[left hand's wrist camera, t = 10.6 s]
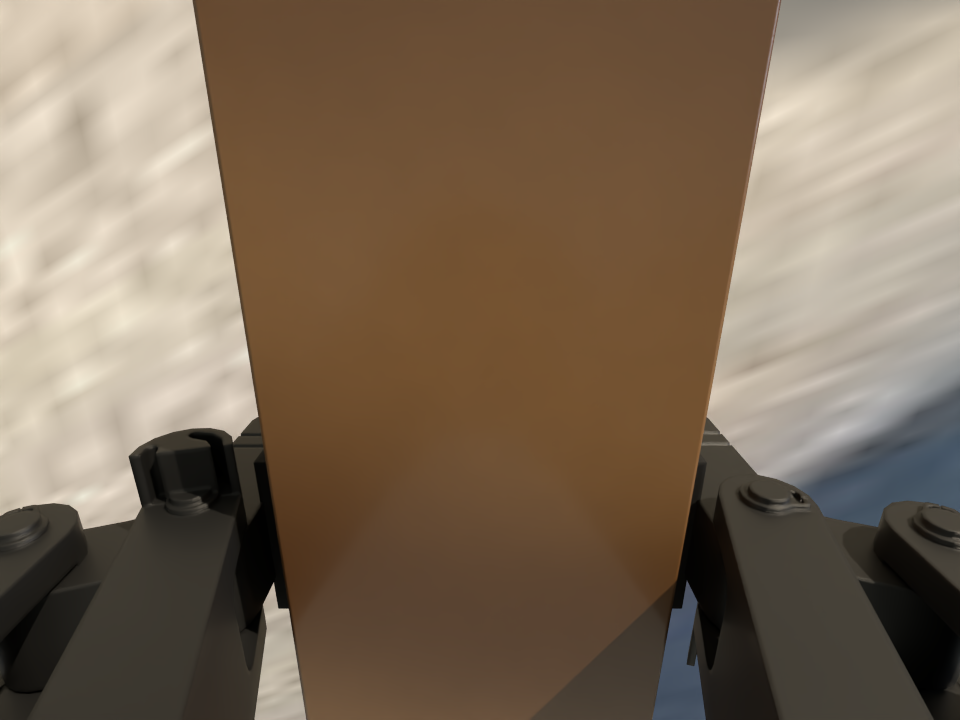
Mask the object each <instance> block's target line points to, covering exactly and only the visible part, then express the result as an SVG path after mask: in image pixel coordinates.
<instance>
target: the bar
mask: <svg viewBox="0 0 960 720" xmlns="http://www.w3.org/2000/svg"><path fill="white" fill-rule="evenodd" d="M780 4H781V0H193V6H194V12H195V19H196V25H197V31H198V37H199V44H200V50H201V56H202V63H203V69H204V75H205V82H206V88H207V94H208V101H209V107H210V113H211V120H212V126H213V132H214V138H215V145H216V151H217V157H218V164H219V170H220V176H221V183H222V189H223V195H224V202H225V208H226V214H227V221H228V227H229V233H230V240H231V246H232V252H233V258H234V265H235V271H236V277H237V284H238V290H239V296H240V303H241V309H242V315H243V322H244V328H245V334H246V341H247V347H248V353H249V359H250V366H251V372H252V378H253V385H254V391H255V397H256V404H257V410H258V416H259V423H260V429H261V435H262V442H263V448H264V454H265V460H266V467H267V473H268V479H269V486H270V492H271V498H272V505H273V511H274V517H275V524H276V530H277V536H278V543H279V549H280V555H281V562H282V568H283V574H284V580H285V587H286V593H287V599H288V606H289V612H290V618H291V625H292V631H293V637H294V644H295V650H296V656H297V663H298V669H299V675H300V681H301V688H302V694H303V700H304V707H305V713H306V719H307V720H652V717H653V711H654V706H655V700H656V695H657V689H658V683H659V678H660V672H661V667H662V661H663V656H664V650H665V644H666V639H667V633H668V628H669V622H670V617H671V611H672V605H673V600H674V594H675V589H676V583H677V578H678V572H679V566H680V561H681V555H682V550H683V544H684V539H685V533H686V527H687V522H688V516H689V511H690V505H691V500H692V494H693V488H694V483H695V477H696V472H697V466H698V461H699V455H700V450H701V444H702V438H703V433H704V427H705V422H706V416H707V411H708V405H709V399H710V394H711V388H712V383H713V377H714V372H715V366H716V360H717V355H718V349H719V344H720V338H721V333H722V327H723V321H724V316H725V310H726V305H727V299H728V294H729V288H730V282H731V277H732V271H733V266H734V260H735V255H736V249H737V243H738V238H739V232H740V227H741V221H742V216H743V210H744V205H745V199H746V193H747V188H748V182H749V177H750V171H751V166H752V160H753V154H754V149H755V143H756V138H757V132H758V127H759V121H760V115H761V110H762V104H763V99H764V93H765V88H766V82H767V76H768V71H769V65H770V60H771V54H772V49H773V43H774V37H775V32H776V26H777V21H778V15H779V10H780Z"/></svg>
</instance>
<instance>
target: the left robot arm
mask: <svg viewBox="0 0 960 720" xmlns="http://www.w3.org/2000/svg"><path fill="white" fill-rule="evenodd" d="M129 460H130V464H131V467H132V471H133V475H134V479H135V482H136V486H137V490H138V494H139V497H140V501H141V505H142V508H141V510H140V512H139V514H138V515H137V517H136V519H135V520H131V521H126V522H121V523H116V524H110V525H105V526H100V527H95V528H89V529H84V530H83V527H82V524H81V521H80V518H79V515H78V512H77V511H76V510H75V509H74V508H72V507H71V506H69V505H63V504H55V503H52V504H43V505H31V506H26V507H23V508H22V509H20V508H18V509H15V510H12V511H9V512H6V513H5V514H4V515H2V516H0V720H254V717H255V710H256V702H257V695H258V688H259V680H260V673H261V666H262V659H263V651H264V644H265V637H266V629H267V628H266V620H265V614H264V609H263V603H264V601H265V599H266V597H267V595H268V593H269V591H270V589H271V587H272V584H273V582H274V585H275V591H276V597H277V602H278V608H289V606H288V599H287V593H286V587H285V580H284V574H283V568H282V562H281V555H280V549H279V543H278V536H277V530H276V524H275V517H274V511H273V505H272V498H271V492H270V486H269V479H268V473H267V467H266V460H265V454H264V448H263V442H262V435H261V429H260V423H259V417H257V418H256V419H254V420H252V421H251V423H250V424H249V425H248V426H247V427H246V428H245V430H244V431H243V432H242V433H241V436H238V438H237V439H236V440H235V441H234V442H233V441H232V436H230V435H229V434H228V433H226V432H225V431H222V430H217V429H212V428H198V429H188V430H183V431H177V432H172V433H169V434H166V435H163V436H161V437H158V438H155V439H153V440H151V441H149V442H147V443H145V444H143V445H141V446H140V447H138V448H137V449H136V450H135V451H134V452H133V453H132V454H131V455H130V456H129ZM687 581H688V583H689V585H690V587H691V589H692V591H693V593H694V595H695V597H696V599H697V601H698V603H697V609H696V614H695V619H694V625H693V630H692V636H691V641H690V646H689V652H688V659H687V665H691V666H694V665H695V659H696V655H697V657H698V665H699V672H700V679H701V686H702V694H703V701H704V708H705V716H706V720H960V513H959V512H958V511H956V510H954V509H952V508H948V507H945V506H941V507H940V506H939V505H938V504H933V503H927V502H925V503H923V502H914V501H902V502H894V503H891V504H890V505H888V506H887V507H886V508H884V510H883V513H882V516H881V520H880V523H879V526H878V527H874V526H869V525H863V524H858V523H853V522H847V521H842V520H837V519H832V518H828V517H824V516H823V514H822V513H821V511H820V509H819V507H818V506H817V504H816V503H815V502H814V501H813V500H812V499H811V498H810V496H809V495H807V494H805V493H804V492H802V491H801V490H799V489H798V488H796V487H794V486H792V485H790V484H787V483H785V482H782V481H780V480H777V479H774V478H769V477H764V476H760V475H757V474H756V473H755V471H754V470H753V469H752V468H751V467H750V466H749V465H748V463H747V462H746V461H745V460H744V459H743V458H742V457H741V455H740V454H739V453H738V452H737V451H736V450H735V449H734V447H733V446H730V445H729V442H728V441H727V439H726V438H725V437H724V436H723V435H722V434H720V431H719V430H718V429H717V428H716V427H715V426H714V425H713V423H712V422H711V421H710V420H709V419H708V418H706V422H705V427H704V433H703V438H702V444H701V450H700V455H699V461H698V466H697V472H696V477H695V483H694V488H693V494H692V500H691V505H690V511H689V516H688V522H687V527H686V533H685V539H684V544H683V550H682V555H681V561H680V566H679V572H678V578H677V583H676V589H675V594H674V600H673V605H672V608H682V605H683V599H684V593H685V587H686V582H687Z"/></svg>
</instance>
